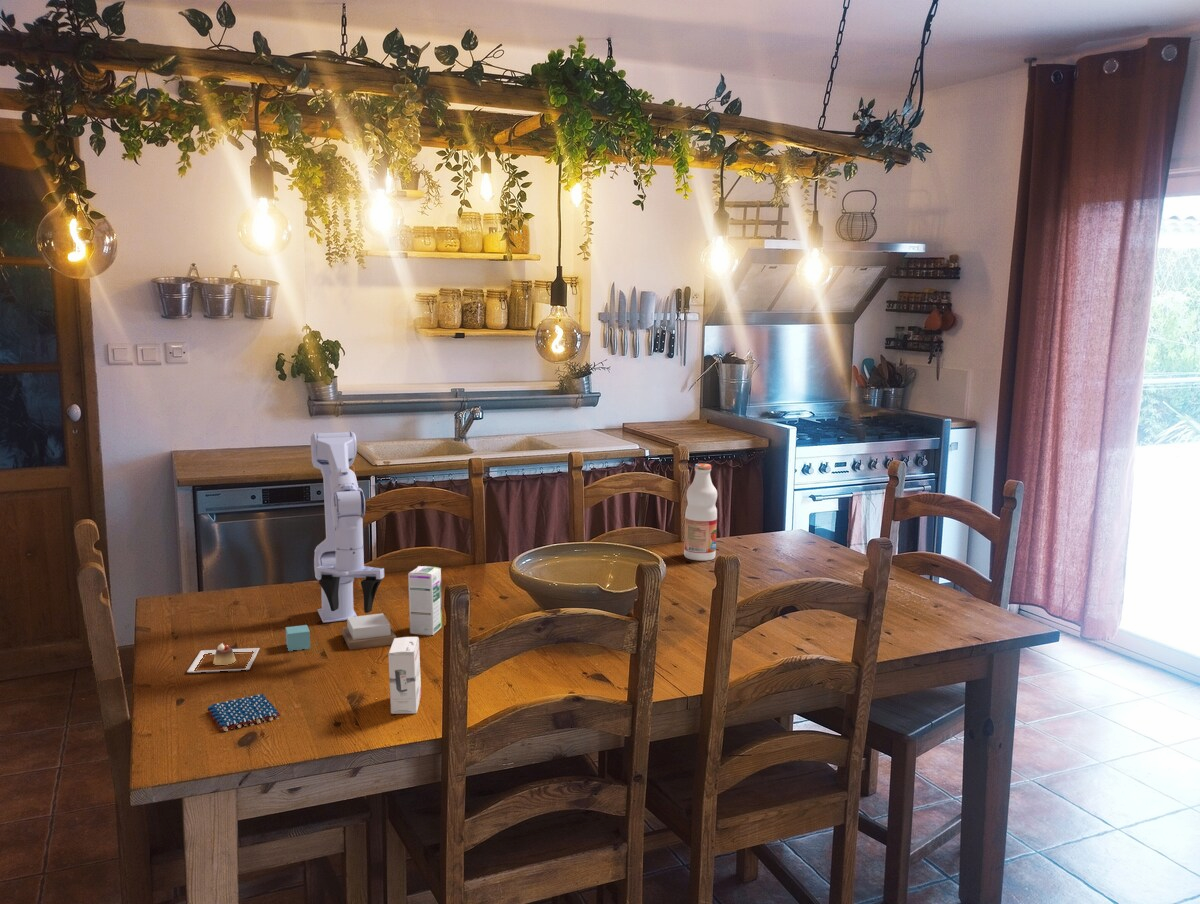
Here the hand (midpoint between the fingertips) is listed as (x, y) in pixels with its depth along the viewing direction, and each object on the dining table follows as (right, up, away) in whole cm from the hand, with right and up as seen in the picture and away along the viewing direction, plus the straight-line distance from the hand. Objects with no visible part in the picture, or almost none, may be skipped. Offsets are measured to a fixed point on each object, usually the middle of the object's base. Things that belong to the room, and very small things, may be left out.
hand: (351, 610), depth 202 cm
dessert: (-25, -11, -5) cm, 27 cm away
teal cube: (-13, -9, +5) cm, 16 cm away
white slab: (+1, -6, +10) cm, 11 cm away
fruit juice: (+82, +2, +83) cm, 117 cm away
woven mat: (-12, -15, -29) cm, 35 cm away
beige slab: (+1, -9, +10) cm, 13 cm away
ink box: (+16, -14, -24) cm, 32 cm away
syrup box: (+13, -7, +16) cm, 22 cm away
